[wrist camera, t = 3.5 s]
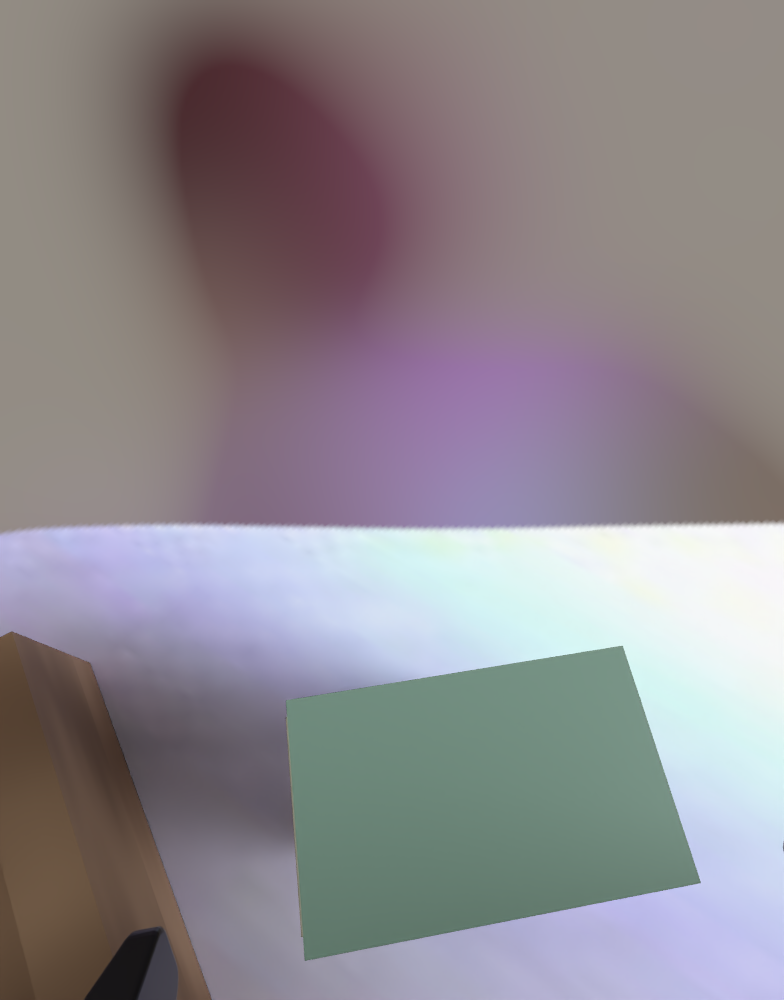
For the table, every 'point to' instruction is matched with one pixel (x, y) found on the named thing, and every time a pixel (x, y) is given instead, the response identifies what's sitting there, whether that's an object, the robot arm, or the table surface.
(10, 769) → the tray
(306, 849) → the book
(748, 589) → the table surface
